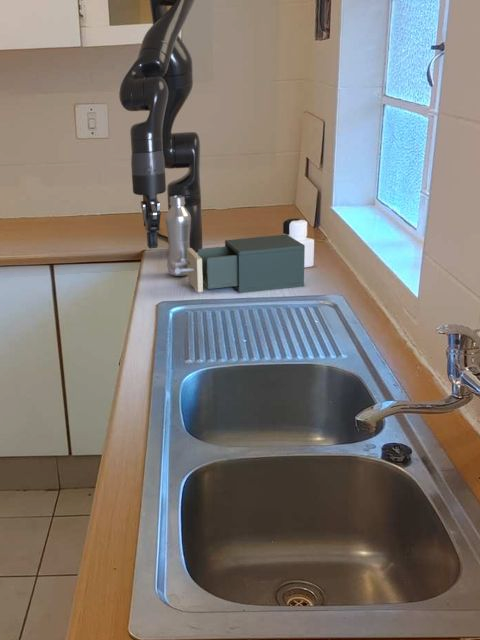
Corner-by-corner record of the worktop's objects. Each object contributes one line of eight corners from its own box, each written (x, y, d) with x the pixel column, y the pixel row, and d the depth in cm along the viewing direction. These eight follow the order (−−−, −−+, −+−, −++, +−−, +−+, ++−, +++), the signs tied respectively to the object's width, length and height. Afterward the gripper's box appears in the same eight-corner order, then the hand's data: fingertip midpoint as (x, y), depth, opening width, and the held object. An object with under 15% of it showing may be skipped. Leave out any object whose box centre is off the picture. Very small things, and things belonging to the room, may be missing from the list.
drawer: (177, 294, 175) (175, 261, 172) (168, 281, 185) (166, 250, 182) (258, 286, 177) (258, 253, 174) (245, 273, 188) (244, 242, 185)
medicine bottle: (275, 265, 197) (275, 219, 193) (298, 260, 200) (299, 215, 195) (290, 270, 191) (291, 223, 187) (314, 266, 194) (315, 220, 189)
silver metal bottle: (177, 270, 198) (174, 193, 190) (198, 273, 194) (195, 195, 186) (162, 276, 194) (158, 198, 186) (183, 279, 190) (179, 199, 182)
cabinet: (239, 292, 176) (238, 251, 173) (225, 278, 188) (224, 240, 184) (303, 286, 178) (304, 245, 175) (286, 272, 190) (286, 234, 186)
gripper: (170, 173, 163) (173, 252, 170) (159, 167, 175) (163, 240, 182) (136, 176, 162) (141, 255, 169) (127, 169, 175) (132, 243, 181)
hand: (152, 247), depth 175 cm, fingers closed
